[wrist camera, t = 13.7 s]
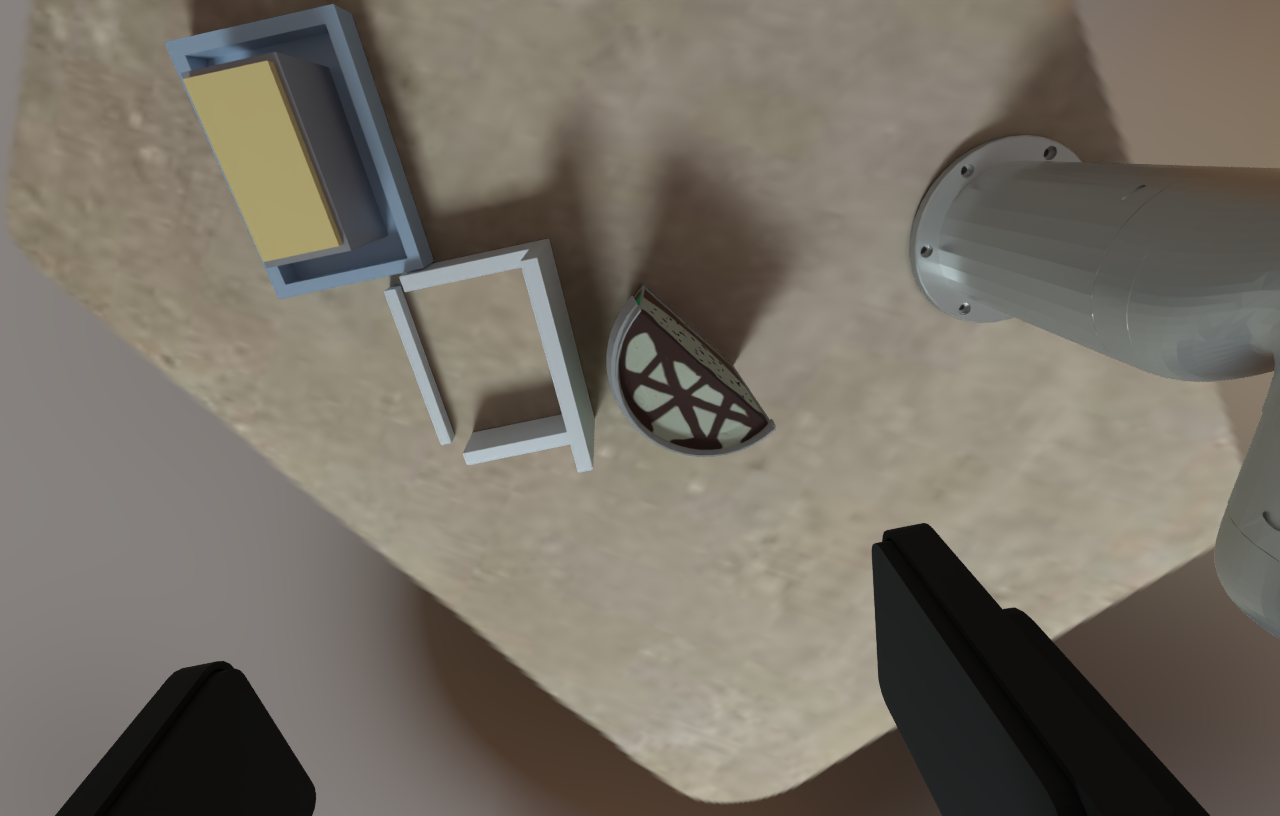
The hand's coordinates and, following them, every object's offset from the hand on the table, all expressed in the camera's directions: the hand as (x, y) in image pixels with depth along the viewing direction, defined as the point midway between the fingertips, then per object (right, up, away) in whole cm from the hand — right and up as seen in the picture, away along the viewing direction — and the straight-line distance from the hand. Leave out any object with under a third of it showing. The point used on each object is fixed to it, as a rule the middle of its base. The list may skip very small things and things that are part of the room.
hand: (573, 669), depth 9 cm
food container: (+2, +8, +37) cm, 37 cm away
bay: (-10, +8, +35) cm, 38 cm away
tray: (-20, +20, +30) cm, 41 cm away
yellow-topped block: (-19, +19, +29) cm, 40 cm away
